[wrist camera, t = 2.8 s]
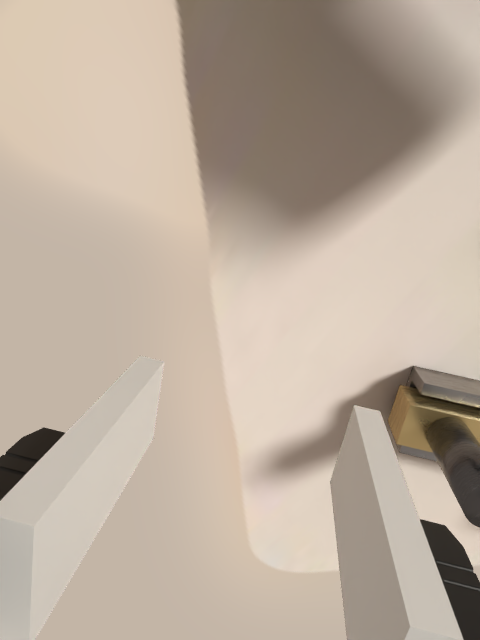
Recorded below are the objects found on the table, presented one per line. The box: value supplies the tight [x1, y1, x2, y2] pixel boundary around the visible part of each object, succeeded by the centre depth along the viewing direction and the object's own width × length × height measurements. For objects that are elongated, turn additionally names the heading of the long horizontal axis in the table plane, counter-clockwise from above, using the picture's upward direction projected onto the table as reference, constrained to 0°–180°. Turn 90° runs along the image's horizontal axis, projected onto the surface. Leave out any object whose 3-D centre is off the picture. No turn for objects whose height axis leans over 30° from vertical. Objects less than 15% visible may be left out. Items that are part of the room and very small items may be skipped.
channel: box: [391, 366, 480, 461], centre depth 36 cm, size 7×10×4 cm, turn 79°
